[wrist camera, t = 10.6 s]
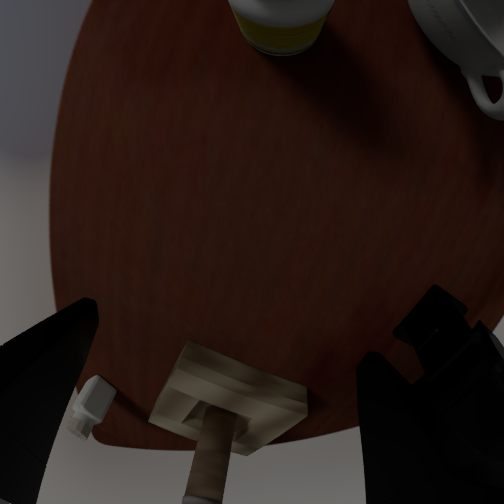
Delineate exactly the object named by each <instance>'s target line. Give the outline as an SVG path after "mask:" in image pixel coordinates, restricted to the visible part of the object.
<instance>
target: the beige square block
mask: <svg viewBox="0 0 504 504" xmlns="http://www.w3.org/2000/svg"><path fill="white" fill-rule="evenodd" d="M210 405H215V406H218V407H221V408H223V409H226V410H229V411H232V412H235V413H236V414H237V417H236V423H235V429H234V435H233V441H232V447H231V452H233V453H237V454H241V455H244V456H248V455H250V454H251V453H253V452H255V451H256V450H258V449H260V448H261V447H263V446H264V445H266V444H268V443H269V442H271V441H272V440H274V439H275V438H277V437H278V436H280V435H281V434H283V433H284V432H286V431H287V430H289V429H290V428H291V427H293V426H294V425H296V424H297V423H298V422H300V421H301V420H303V419H304V418H305V417H307V416H308V407H307V387H306V386H303V385H300V384H297V383H294V382H291V381H289V380H286V379H283V378H280V377H277V376H275V375H272V374H269V373H267V372H264V371H261V370H259V369H256V368H254V367H251V366H249V365H246V364H244V363H241V362H239V361H236V360H234V359H232V358H229V357H227V356H224V355H222V354H220V353H217V352H215V351H213V350H211V349H208V348H206V347H204V346H202V345H200V344H197V343H195V342H193V341H191V340H189V339H188V341H187V343H186V344H185V346H184V348H183V350H182V352H181V354H180V356H179V358H178V360H177V361H176V363H175V365H174V367H173V369H172V371H171V373H170V375H169V377H168V379H167V381H166V382H165V384H164V386H163V388H162V390H161V392H160V394H159V396H158V398H157V400H156V403H155V405H154V408H153V410H152V413H151V416H150V418H149V421H148V422H151V423H153V424H155V425H157V426H160V427H162V428H164V429H167V430H169V431H172V432H174V433H177V434H179V435H182V436H185V437H187V438H190V439H193V440H196V441H197V442H198V438H199V434H200V430H201V426H202V422H203V418H204V414H205V410H206V408H207V407H208V406H210Z"/></svg>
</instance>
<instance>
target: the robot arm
mask: <svg viewBox="0 0 504 504" xmlns="http://www.w3.org/2000/svg"><path fill="white" fill-rule="evenodd" d="M434 290H435V291H434ZM467 312H468V308H467V307H466V306H465V305H464V304H462V303H461V302H460V301H458V300H457V299H456V298H454V297H453V296H452V295H450V294H449V293H448V292H446V291H445V290H444V289H442V288H441V287H439V286H438V285H433V286H432V287H431V288H430V289H429V290H428V291H427V293H426V294H425V295H424V296H423V298H422V299H421V300H420V301H419V302H418V304H417V305H416V306H415V307H414V308H413V309H412V311H411V312H410V313H409V314H408V315H407V316H406V317H405V319H404V320H403V321H402V322H401V323H400V324H399V325H398V326H397V327H396V328H395V329H394V331H393V335H394V337H395V338H397V339H399V340H401V341H403V342H405V343H408V344H410V345H412V346H413V347H414V349H415V351H416V354H417V356H418V358H419V361H420V363H421V365H422V368H423V370H424V373H425V375H424V376H422V377H421V378H420V379H419V380H418V381H416V382H415V383H414V384H410V383H409V382H408V381H407V380H406V379H405V378H404V377H403V376H402V375H401V374H400V373H399V372H398V371H397V370H396V369H395V368H394V367H393V366H392V365H391V364H390V363H389V362H388V361H387V360H386V359H385V358H384V356H383V355H382V354H381V353H379V352H372V351H370V352H368V353H366V355H365V356H364V358H363V359H362V360H361V362H360V363H359V364H358V366H357V369H356V385H357V410H358V418H359V426H360V434H361V443H362V453H363V463H364V476H365V490H366V504H504V347H503V345H502V344H501V343H500V341H499V340H498V338H497V337H496V336H495V335H494V334H493V333H492V332H491V331H490V330H489V329H488V328H487V327H486V326H485V325H484V324H483V323H482V322H481V321H480V320H479V321H478V322H477V324H476V326H475V327H474V328H473V329H471V327H470V326H469V324H468V323H467V321H466V320H465V319H464V316H465V314H466V313H467ZM98 324H99V316H98V309H97V303H96V301H95V300H93V299H89V298H86V297H84V298H82V299H80V300H78V301H76V302H75V303H73V304H71V305H69V306H67V307H66V308H64V309H62V310H60V311H59V312H57V313H55V314H54V315H52V316H50V317H48V318H46V319H45V320H43V321H41V322H39V323H38V324H36V325H34V326H33V327H31V328H29V329H28V330H26V331H25V332H22V333H21V334H19V335H17V336H16V337H14V338H13V339H11V340H9V341H8V342H6V343H4V344H3V346H2V345H1V346H0V504H9V503H11V504H36V502H37V498H38V494H39V490H40V486H41V482H42V479H43V476H44V472H45V468H46V464H47V461H48V458H49V455H50V452H51V449H52V446H53V443H54V440H55V437H56V435H57V432H58V429H59V426H60V424H61V421H62V418H63V416H64V413H65V410H66V408H67V405H68V403H69V400H70V398H71V395H72V393H73V391H74V388H75V386H76V384H77V381H78V379H79V377H80V375H81V372H82V370H83V368H84V365H85V363H86V360H87V357H88V354H89V351H90V348H91V345H92V342H93V339H94V336H95V333H96V330H97V328H98ZM398 332H399V333H398Z"/></svg>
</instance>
